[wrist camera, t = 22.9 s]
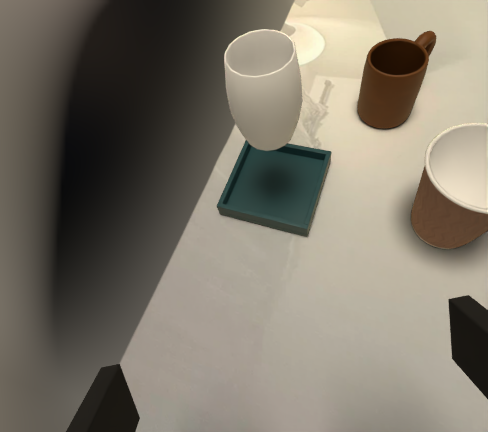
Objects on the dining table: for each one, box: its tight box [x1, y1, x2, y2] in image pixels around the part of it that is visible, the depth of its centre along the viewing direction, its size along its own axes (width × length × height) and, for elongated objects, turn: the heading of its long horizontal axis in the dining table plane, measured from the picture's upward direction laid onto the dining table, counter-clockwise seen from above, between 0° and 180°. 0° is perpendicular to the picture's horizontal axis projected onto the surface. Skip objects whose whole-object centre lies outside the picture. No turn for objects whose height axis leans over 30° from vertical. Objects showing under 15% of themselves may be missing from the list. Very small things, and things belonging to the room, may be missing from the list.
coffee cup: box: [411, 123, 488, 249], centre depth 38 cm, size 10×10×12 cm
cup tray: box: [217, 140, 331, 237], centre depth 48 cm, size 12×12×2 cm
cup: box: [224, 29, 302, 151], centre depth 39 cm, size 7×7×21 cm
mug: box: [358, 31, 436, 128], centre depth 49 cm, size 12×8×9 cm, turn 131°
